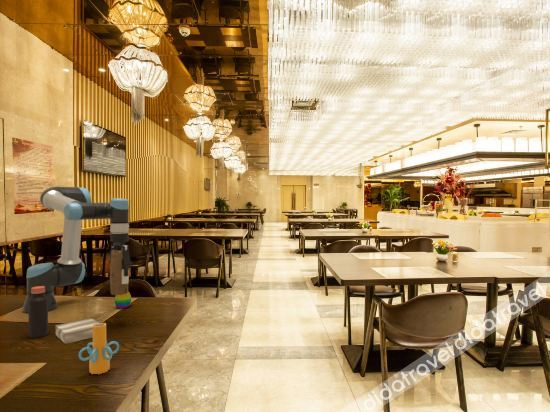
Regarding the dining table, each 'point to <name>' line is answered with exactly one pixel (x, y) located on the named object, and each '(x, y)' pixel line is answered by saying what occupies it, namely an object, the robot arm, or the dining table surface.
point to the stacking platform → (75, 330)
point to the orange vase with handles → (99, 350)
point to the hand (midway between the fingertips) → (119, 281)
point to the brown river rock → (117, 274)
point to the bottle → (38, 313)
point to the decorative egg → (123, 300)
